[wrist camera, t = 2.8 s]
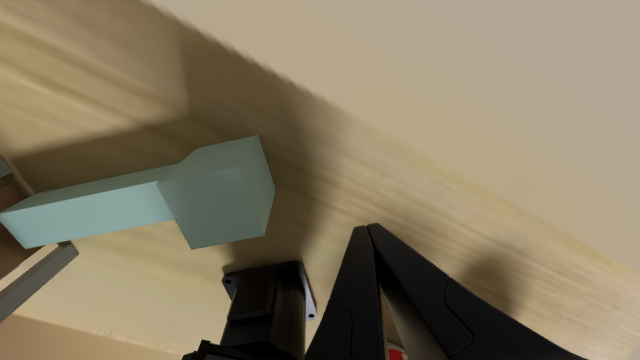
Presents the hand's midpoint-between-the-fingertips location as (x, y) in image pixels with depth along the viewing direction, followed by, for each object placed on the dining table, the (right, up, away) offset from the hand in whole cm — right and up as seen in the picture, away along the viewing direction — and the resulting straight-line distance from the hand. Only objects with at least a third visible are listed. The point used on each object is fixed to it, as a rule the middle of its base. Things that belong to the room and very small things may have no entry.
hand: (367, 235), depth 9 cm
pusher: (-13, +1, +9) cm, 16 cm away
